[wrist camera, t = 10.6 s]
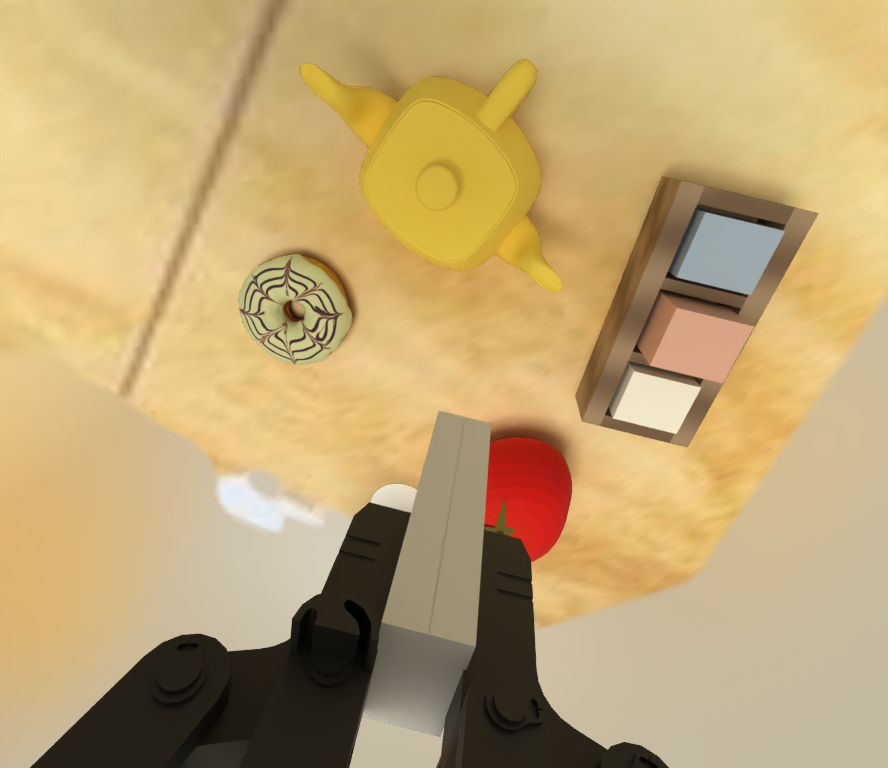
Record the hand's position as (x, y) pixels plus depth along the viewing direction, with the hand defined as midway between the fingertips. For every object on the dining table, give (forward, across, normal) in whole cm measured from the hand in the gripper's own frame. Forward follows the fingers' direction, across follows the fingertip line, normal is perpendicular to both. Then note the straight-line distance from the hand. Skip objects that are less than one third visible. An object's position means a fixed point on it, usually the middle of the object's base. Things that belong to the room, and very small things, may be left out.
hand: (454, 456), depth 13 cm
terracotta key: (+29, +17, -2) cm, 34 cm away
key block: (+32, +17, -2) cm, 37 cm away
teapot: (+33, -4, +6) cm, 33 cm away
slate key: (+31, +17, +5) cm, 36 cm away
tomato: (+33, +8, -23) cm, 41 cm away
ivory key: (+31, +17, -8) cm, 37 cm away
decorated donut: (+33, -17, -10) cm, 38 cm away
